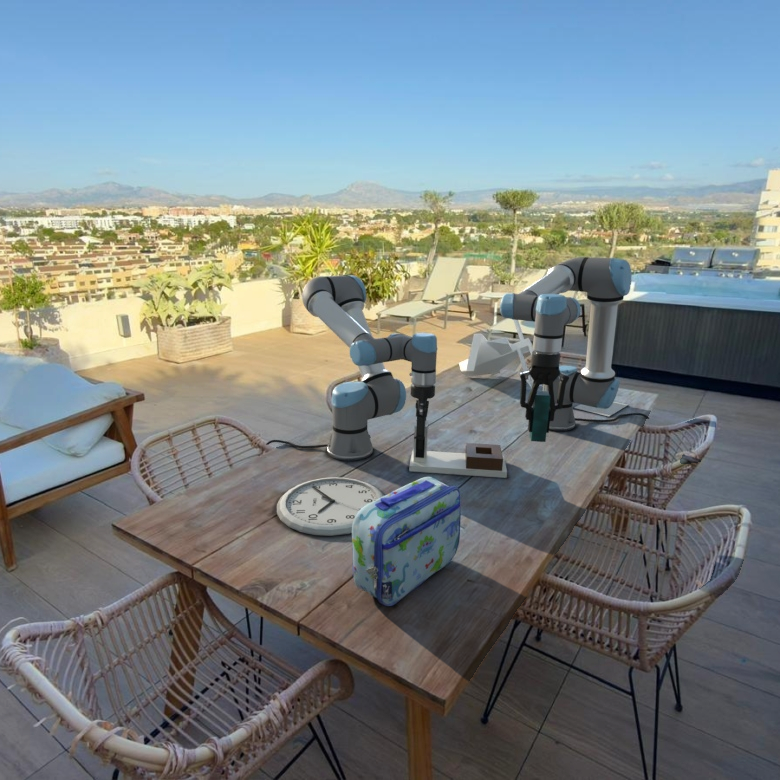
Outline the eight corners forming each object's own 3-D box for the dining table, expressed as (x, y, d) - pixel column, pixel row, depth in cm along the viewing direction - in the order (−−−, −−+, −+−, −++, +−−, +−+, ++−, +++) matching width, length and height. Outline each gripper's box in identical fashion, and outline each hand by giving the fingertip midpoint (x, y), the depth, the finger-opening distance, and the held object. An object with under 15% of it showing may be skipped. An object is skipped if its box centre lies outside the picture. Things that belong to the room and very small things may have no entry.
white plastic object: (480, 418, 266) (459, 395, 242) (461, 346, 288) (441, 318, 264) (550, 394, 254) (536, 368, 229) (526, 321, 276) (510, 289, 251)
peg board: (503, 461, 172) (506, 421, 167) (506, 477, 160) (510, 435, 156) (412, 455, 175) (413, 416, 171) (409, 471, 164) (410, 429, 159)
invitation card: (608, 416, 214) (573, 407, 224) (608, 416, 214) (573, 408, 224) (628, 404, 229) (594, 396, 238) (628, 405, 229) (594, 397, 238)
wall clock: (392, 527, 129) (268, 531, 127) (391, 533, 130) (269, 537, 127) (383, 473, 158) (282, 475, 155) (383, 478, 158) (282, 480, 156)
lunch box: (381, 619, 101) (382, 525, 95) (345, 592, 109) (344, 503, 102) (464, 563, 119) (469, 480, 113) (428, 543, 126) (432, 464, 120)
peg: (543, 436, 153) (548, 391, 149) (545, 442, 149) (550, 395, 145) (529, 435, 154) (533, 390, 149) (531, 441, 150) (535, 395, 145)
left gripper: (413, 375, 170) (411, 440, 177) (408, 392, 152) (406, 464, 159) (436, 376, 169) (433, 442, 176) (434, 393, 151) (430, 466, 158)
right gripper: (575, 349, 146) (566, 427, 153) (513, 347, 148) (506, 424, 155) (581, 356, 139) (571, 437, 146) (516, 353, 141) (509, 433, 148)
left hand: (420, 452), depth 168 cm, fingers closed on peg board, 6 cm apart
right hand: (538, 430), depth 151 cm, fingers closed on peg, 4 cm apart
